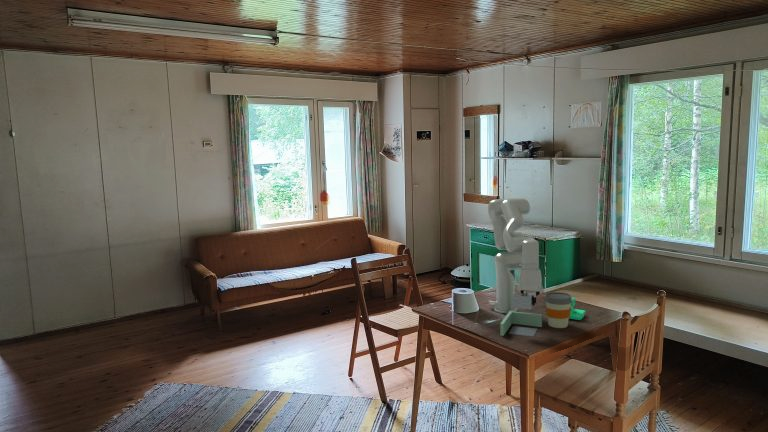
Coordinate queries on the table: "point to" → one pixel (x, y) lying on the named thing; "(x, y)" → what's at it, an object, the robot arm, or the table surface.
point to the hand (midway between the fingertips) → (530, 304)
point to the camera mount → (576, 312)
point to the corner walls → (520, 320)
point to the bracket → (523, 301)
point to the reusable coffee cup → (558, 309)
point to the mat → (523, 331)
